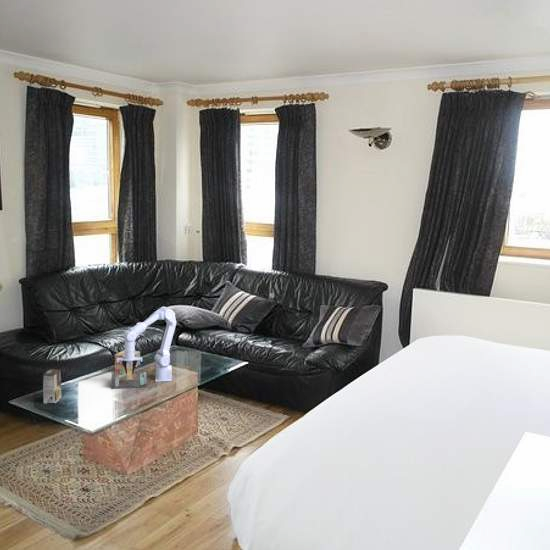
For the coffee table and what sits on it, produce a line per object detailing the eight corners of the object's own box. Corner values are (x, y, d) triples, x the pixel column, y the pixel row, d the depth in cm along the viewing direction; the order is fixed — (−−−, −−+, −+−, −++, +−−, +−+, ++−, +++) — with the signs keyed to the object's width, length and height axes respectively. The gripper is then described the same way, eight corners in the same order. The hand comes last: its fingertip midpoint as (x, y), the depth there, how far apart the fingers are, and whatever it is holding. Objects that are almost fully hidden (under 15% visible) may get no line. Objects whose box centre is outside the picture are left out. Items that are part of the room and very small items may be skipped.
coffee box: (50, 397, 322) (49, 368, 319) (61, 398, 322) (61, 369, 319) (43, 403, 313) (42, 374, 310) (55, 404, 313) (54, 374, 310)
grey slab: (146, 380, 355) (146, 371, 354) (147, 387, 343) (147, 378, 342) (112, 382, 350) (112, 373, 349) (111, 388, 338) (111, 379, 338)
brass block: (132, 375, 350) (132, 368, 349) (132, 379, 343) (132, 371, 343) (126, 376, 349) (127, 368, 349) (126, 379, 342) (126, 372, 342)
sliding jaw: (146, 379, 353) (146, 370, 353) (146, 384, 344) (146, 376, 343) (140, 379, 353) (140, 371, 352) (140, 385, 343) (140, 376, 342)
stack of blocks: (131, 364, 386) (131, 345, 384) (140, 365, 385) (140, 346, 383) (114, 373, 366) (114, 354, 364) (123, 374, 364) (123, 355, 362)
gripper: (142, 348, 349) (142, 370, 351) (116, 349, 346) (116, 371, 348) (142, 351, 342) (142, 374, 344) (116, 352, 339) (116, 375, 341)
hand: (129, 373), depth 346 cm, fingers closed on brass block, 3 cm apart
